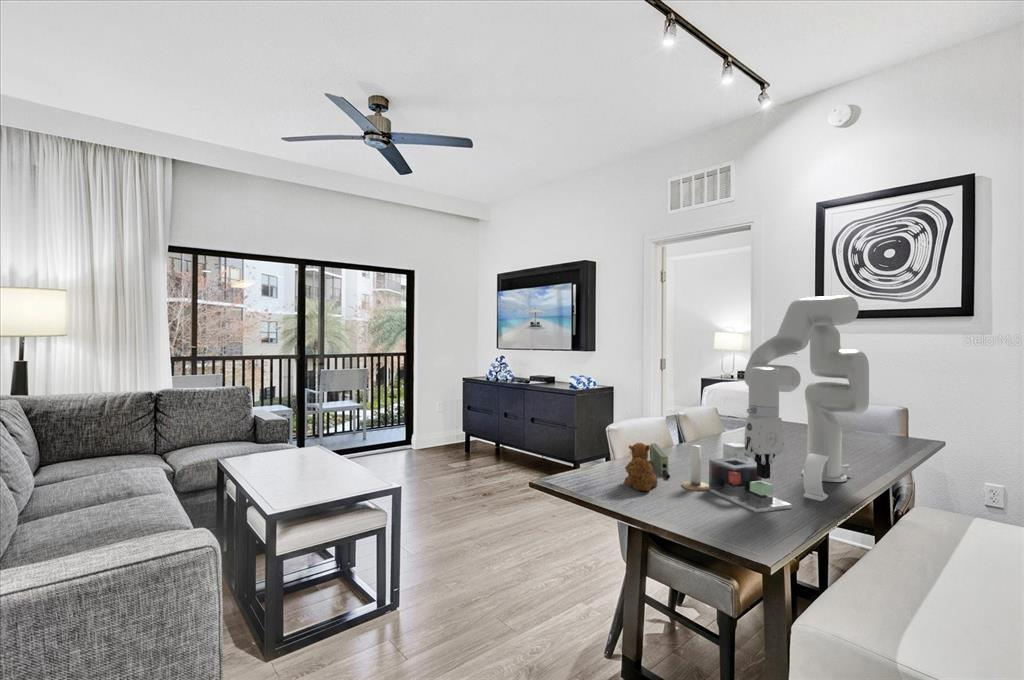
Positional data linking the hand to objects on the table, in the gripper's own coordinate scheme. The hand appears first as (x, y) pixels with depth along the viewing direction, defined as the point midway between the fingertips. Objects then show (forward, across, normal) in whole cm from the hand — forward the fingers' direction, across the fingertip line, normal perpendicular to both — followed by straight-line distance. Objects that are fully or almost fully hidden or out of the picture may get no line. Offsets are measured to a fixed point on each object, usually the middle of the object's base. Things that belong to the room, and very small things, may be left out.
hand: (763, 477), depth 136 cm
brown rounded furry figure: (+7, -25, +22) cm, 34 cm away
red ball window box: (+7, -2, +5) cm, 9 cm away
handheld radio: (+8, -8, +38) cm, 39 cm away
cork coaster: (+7, -9, +18) cm, 21 cm away
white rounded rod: (+7, -8, +18) cm, 21 cm away
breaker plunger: (+6, -2, +9) cm, 11 cm away
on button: (+5, -2, -1) cm, 6 cm away
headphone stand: (+8, +18, 0) cm, 20 cm away
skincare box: (+8, +22, +36) cm, 43 cm away
